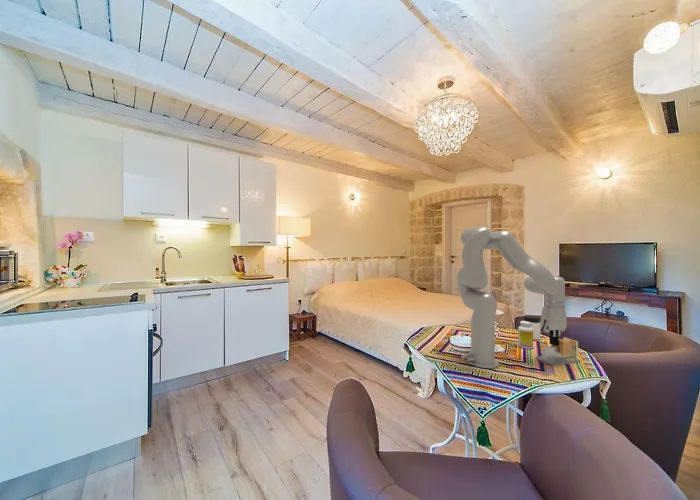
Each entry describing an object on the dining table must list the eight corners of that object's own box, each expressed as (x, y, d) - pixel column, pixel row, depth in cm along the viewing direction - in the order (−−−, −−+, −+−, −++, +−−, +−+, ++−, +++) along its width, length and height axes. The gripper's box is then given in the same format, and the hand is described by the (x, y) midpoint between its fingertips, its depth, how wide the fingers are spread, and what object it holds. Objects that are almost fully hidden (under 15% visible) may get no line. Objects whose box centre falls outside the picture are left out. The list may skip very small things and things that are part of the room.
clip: (562, 354, 126) (562, 342, 126) (551, 350, 131) (551, 338, 131) (569, 354, 127) (569, 341, 127) (558, 349, 132) (558, 338, 132)
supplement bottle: (535, 349, 142) (535, 324, 142) (520, 348, 143) (521, 323, 143) (529, 345, 148) (530, 320, 148) (516, 344, 150) (516, 320, 150)
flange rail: (551, 365, 122) (552, 345, 122) (535, 358, 130) (535, 339, 130) (580, 362, 126) (580, 342, 126) (562, 355, 134) (562, 336, 134)
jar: (522, 334, 168) (522, 314, 168) (539, 336, 164) (539, 315, 164) (523, 338, 160) (524, 317, 160) (541, 340, 156) (541, 319, 156)
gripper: (559, 301, 133) (559, 340, 133) (533, 303, 129) (533, 343, 129) (575, 305, 126) (575, 346, 126) (548, 306, 122) (548, 349, 122)
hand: (554, 344), depth 128 cm, fingers closed
